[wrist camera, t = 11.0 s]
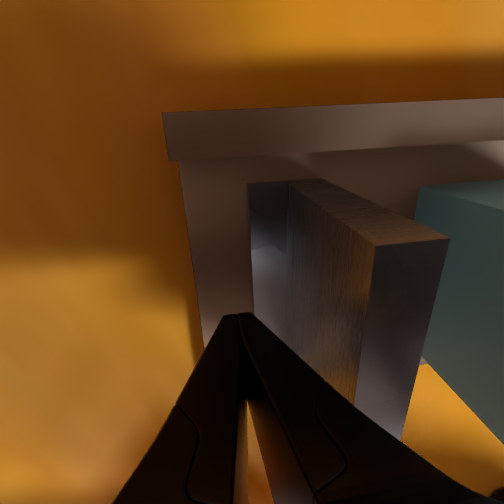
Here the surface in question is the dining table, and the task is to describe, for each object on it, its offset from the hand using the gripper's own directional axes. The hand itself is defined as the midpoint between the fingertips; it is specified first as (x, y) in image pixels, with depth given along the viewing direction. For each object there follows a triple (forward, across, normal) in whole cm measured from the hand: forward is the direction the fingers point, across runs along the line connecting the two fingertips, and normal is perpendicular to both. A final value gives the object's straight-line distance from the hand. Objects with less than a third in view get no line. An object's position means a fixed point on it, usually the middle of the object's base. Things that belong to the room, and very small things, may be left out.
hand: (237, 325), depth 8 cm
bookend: (+2, -2, 0) cm, 3 cm away
